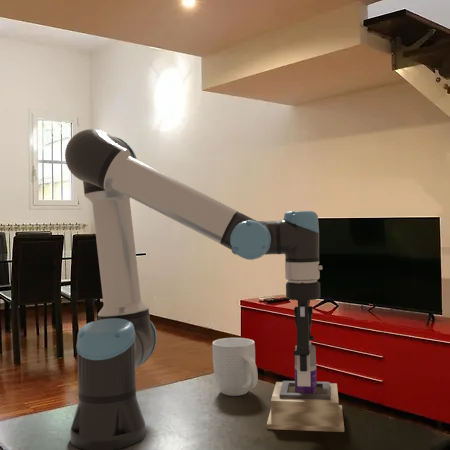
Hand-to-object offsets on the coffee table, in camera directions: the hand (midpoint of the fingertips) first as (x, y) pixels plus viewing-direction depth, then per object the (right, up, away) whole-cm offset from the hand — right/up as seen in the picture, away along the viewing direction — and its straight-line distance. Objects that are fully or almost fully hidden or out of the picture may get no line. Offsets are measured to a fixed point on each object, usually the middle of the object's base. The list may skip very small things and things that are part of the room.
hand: (305, 377), depth 123 cm
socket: (0, -9, 0) cm, 9 cm away
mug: (-15, -10, +20) cm, 26 cm away
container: (0, -8, 0) cm, 8 cm away
